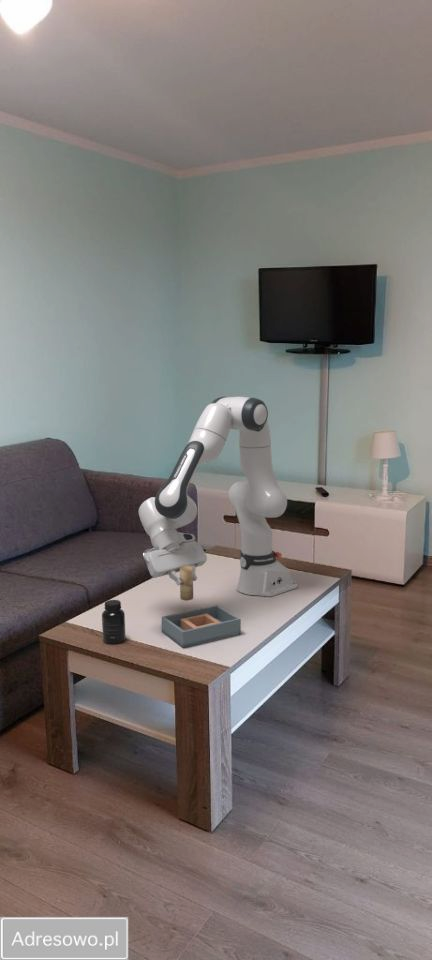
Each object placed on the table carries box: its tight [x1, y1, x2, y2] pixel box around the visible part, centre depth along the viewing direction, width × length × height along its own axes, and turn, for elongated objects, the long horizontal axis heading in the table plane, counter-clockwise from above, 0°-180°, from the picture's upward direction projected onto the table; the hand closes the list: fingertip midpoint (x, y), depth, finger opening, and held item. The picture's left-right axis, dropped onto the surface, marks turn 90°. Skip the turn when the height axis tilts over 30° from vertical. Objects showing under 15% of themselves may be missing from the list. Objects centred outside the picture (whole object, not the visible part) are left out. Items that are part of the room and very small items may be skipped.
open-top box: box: [161, 604, 242, 649], centre depth 223 cm, size 20×14×5 cm
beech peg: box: [179, 565, 194, 601], centre depth 223 cm, size 4×4×10 cm
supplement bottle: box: [101, 599, 126, 645], centre depth 218 cm, size 7×7×12 cm
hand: (187, 582), depth 222 cm, fingers closed on beech peg, 4 cm apart
